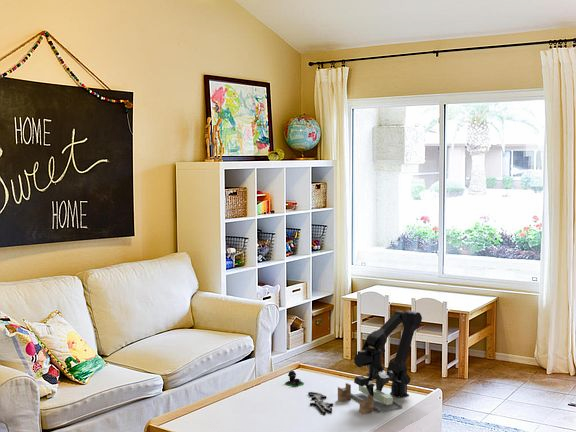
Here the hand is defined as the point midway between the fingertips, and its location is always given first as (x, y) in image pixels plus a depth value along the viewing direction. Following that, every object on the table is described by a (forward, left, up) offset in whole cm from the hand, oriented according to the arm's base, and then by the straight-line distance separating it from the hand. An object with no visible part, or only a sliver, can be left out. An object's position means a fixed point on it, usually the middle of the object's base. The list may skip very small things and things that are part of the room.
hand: (375, 397), depth 321 cm
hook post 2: (+11, +9, -2) cm, 14 cm away
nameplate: (+23, -10, -3) cm, 25 cm away
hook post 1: (+11, -9, -2) cm, 14 cm away
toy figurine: (+19, -41, -3) cm, 45 cm away
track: (0, 0, -2) cm, 2 cm away
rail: (0, 0, 0) cm, 0 cm away
